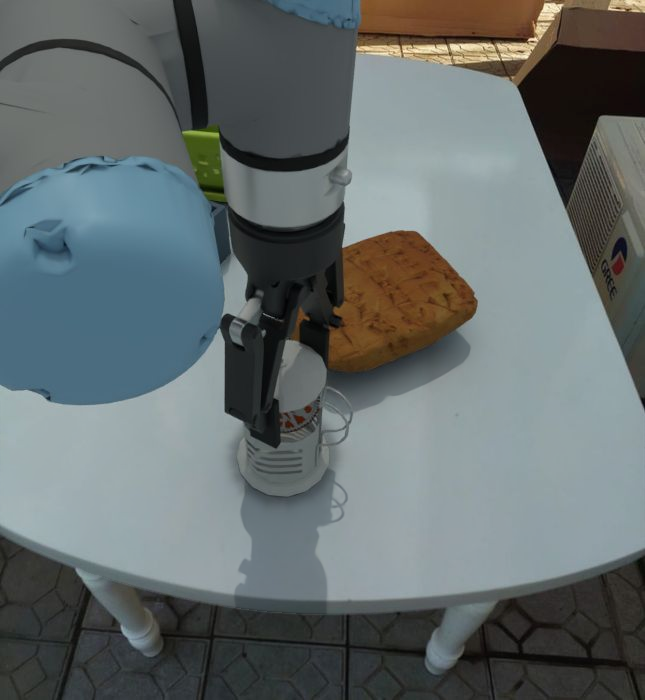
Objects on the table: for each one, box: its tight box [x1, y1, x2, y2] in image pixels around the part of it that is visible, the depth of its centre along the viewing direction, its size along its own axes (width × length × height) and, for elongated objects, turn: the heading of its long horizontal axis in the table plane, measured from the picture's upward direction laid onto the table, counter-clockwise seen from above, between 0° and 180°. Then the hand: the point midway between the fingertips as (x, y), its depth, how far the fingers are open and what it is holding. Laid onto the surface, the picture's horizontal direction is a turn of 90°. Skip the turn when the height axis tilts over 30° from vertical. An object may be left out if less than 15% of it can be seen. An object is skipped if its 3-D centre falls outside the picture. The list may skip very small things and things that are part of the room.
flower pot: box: [182, 125, 228, 203], centre depth 88 cm, size 14×14×13 cm
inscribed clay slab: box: [281, 229, 479, 374], centre depth 71 cm, size 22×17×8 cm
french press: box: [236, 319, 354, 498], centre depth 52 cm, size 10×12×25 cm
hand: (290, 403), depth 54 cm, fingers closed on french press, 8 cm apart
